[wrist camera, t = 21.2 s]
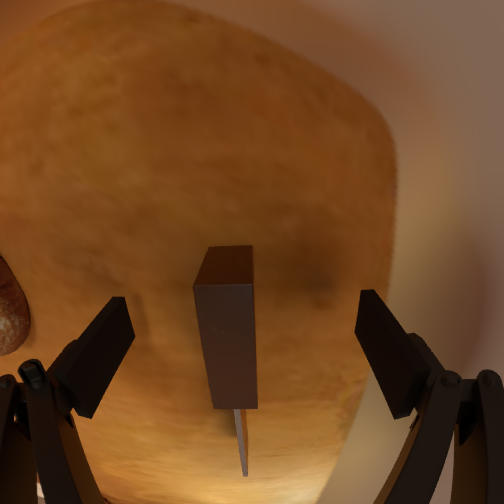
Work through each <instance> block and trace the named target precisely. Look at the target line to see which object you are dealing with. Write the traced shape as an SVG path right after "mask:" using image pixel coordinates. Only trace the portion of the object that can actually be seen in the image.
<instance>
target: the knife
mask: <svg viewBox="0 0 504 504" xmlns="http://www.w3.org/2000/svg"><path fill="white" fill-rule="evenodd" d="M193 290H194V297H195V304H196V311H197V318H198V324H199V331H200V337H201V343H202V349H203V355H204V361H205V366H206V372H207V377H208V382H209V388H210V393H211V398H212V403H213V407H214V409H233V410H234V417H235V425H236V432H237V439H238V445H239V452H240V459H241V465H242V471H243V476H248V431H247V420H246V409H258V394H257V357H256V328H255V300H254V272H253V246H252V245H249V246H220V247H209V248H208V251H207V253H206V255H205V258H204V260H203V263H202V265H201V267H200V270H199V272H198V275H197V277H196V280H195V282H194V285H193Z"/></svg>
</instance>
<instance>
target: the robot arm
mask: <svg viewBox="0 0 504 504" xmlns="http://www.w3.org/2000/svg"><path fill="white" fill-rule="evenodd" d="M355 334H356V336H357V339H358V341H359V343H360V345H361V347H362V349H363V351H364V353H365V355H366V357H367V360H368V362H369V364H370V366H371V368H372V370H373V372H374V375H375V377H376V379H377V381H378V383H379V386H380V388H381V390H382V392H383V395H384V397H385V399H386V401H387V404H388V406H389V408H390V411H391V413H392V415H393V418H394V419H399V418H402V417H407V416H410V414H411V412H412V410H413V408H414V407H415V409H416V411H417V416H416V417H415V419H414V421H413V423H412V424H411V426H410V428H411V429H410V432H409V434H408V437H407V439H406V441H405V444H404V446H403V448H402V450H401V452H400V455H399V457H398V459H397V461H396V463H395V465H394V467H393V469H392V471H391V473H390V475H389V476H388V478H387V480H386V482H385V484H384V486H383V488H382V490H381V491H380V493H379V494H378V496H377V498H376V500H375V501H374V503H373V504H429V502H430V500H431V498H432V495H433V493H434V491H435V488H436V485H437V483H438V480H439V477H440V475H441V472H442V469H443V466H444V463H445V460H446V457H447V454H448V450H449V447H450V443H451V440H452V435H453V431H454V467H453V482H452V491H451V500H450V504H504V388H503V384H502V380H501V378H500V376H499V375H498V374H497V373H496V372H494V371H492V370H488V369H487V370H482V371H481V372H480V373H479V374H478V376H477V378H476V379H462V378H461V377H460V376H459V375H458V374H457V373H455V372H453V371H448V370H445V369H444V368H443V366H442V365H441V363H440V362H439V361H438V359H437V358H436V357H435V355H434V354H433V352H431V349H430V348H429V347H427V344H426V343H425V341H424V340H423V339H422V338H421V337H420V336H418V335H417V334H415V333H410V334H406V332H405V331H404V330H403V328H402V326H401V325H400V324H399V322H398V321H397V320H396V318H395V317H394V316H393V314H392V313H391V311H390V310H389V309H388V307H387V306H386V305H385V303H384V302H383V301H382V299H381V298H380V297H379V295H378V294H377V293H376V292H375V290H374V289H371V290H361V294H360V301H359V308H358V314H357V320H356V326H355ZM134 339H135V334H134V330H133V327H132V323H131V320H130V316H129V312H128V309H127V305H126V301H125V297H112V298H111V299H110V301H109V302H108V303H107V304H106V305H105V306H104V308H103V309H102V310H101V311H100V312H99V314H98V315H97V316H96V317H95V318H94V320H93V321H92V322H91V323H90V324H89V326H88V327H87V328H86V329H85V331H84V332H83V333H82V334H81V336H80V337H79V338H78V339H77V340H73V341H72V342H70V343H69V344H68V345H67V346H66V347H65V348H64V349H63V351H62V352H61V353H60V354H59V356H58V357H57V358H56V360H55V361H54V362H53V363H52V365H51V366H50V367H49V369H48V370H47V371H45V369H44V367H43V365H42V364H41V362H40V361H39V360H38V359H30V360H27V361H25V362H24V363H22V364H21V365H20V367H19V368H18V373H19V375H20V377H21V378H22V380H23V382H24V383H18V382H17V381H16V379H15V377H14V376H13V375H11V374H6V375H3V376H1V377H0V504H38V496H37V473H38V477H39V481H40V485H41V489H42V493H43V496H44V499H45V503H46V504H106V503H105V501H104V499H103V497H102V495H101V493H100V490H99V488H98V486H97V484H96V481H95V479H94V477H93V474H92V472H91V469H90V467H89V464H88V461H87V459H86V456H85V453H84V450H83V447H82V445H81V442H80V438H79V435H78V432H77V429H76V425H75V422H74V419H73V416H72V414H71V413H70V412H71V410H72V408H74V409H75V411H76V412H77V414H78V415H79V416H83V417H86V418H90V419H92V417H93V415H94V413H95V411H96V409H97V407H98V405H99V403H100V401H101V399H102V397H103V395H104V393H105V391H106V390H107V388H108V386H109V384H110V382H111V380H112V378H113V376H114V375H115V373H116V371H117V369H118V367H119V365H120V364H121V362H122V360H123V358H124V356H125V354H126V353H127V351H128V349H129V347H130V346H131V344H132V342H133V340H134ZM14 416H15V417H16V420H15V422H14Z"/></svg>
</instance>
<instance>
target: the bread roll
mask: <svg viewBox="0 0 504 504" xmlns="http://www.w3.org/2000/svg"><path fill="white" fill-rule="evenodd" d="M29 327H30V318H29V312H28V308H27V303H26V300H25V297H24V294H23V291H22V290H21V288H20V286H19V284H18V282H17V281H16V279H15V277H14V275H13V274H12V272H11V270H10V268H9V267H8V265H7V264H6V262H5V261H4V260H3V259H2V258H1V257H0V356H3V355H7V354H10V353H12V352H14V351H16V350H17V349H18V348H19V347H20V346H21V345H22V344H23V343H24V342H25V340H26V338H27V336H28V333H29Z"/></svg>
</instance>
